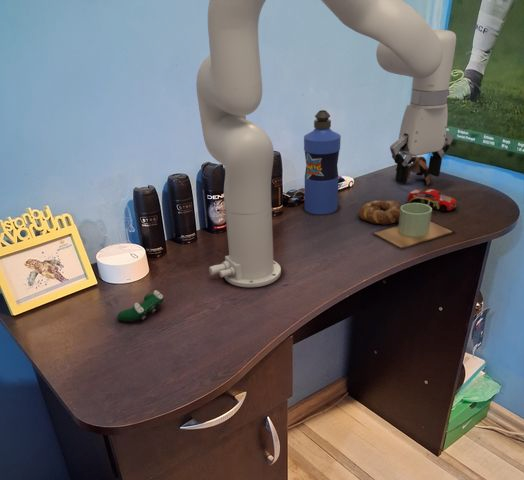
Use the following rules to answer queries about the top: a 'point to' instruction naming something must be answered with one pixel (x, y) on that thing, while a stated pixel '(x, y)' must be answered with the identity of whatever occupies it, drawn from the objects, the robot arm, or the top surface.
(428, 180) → the brown grey arched frame
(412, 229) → the green cup
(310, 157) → the water bottle
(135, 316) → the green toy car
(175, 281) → the top surface
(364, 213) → the seeded bagel
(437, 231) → the cork mat
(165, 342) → the top surface
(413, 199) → the race car
